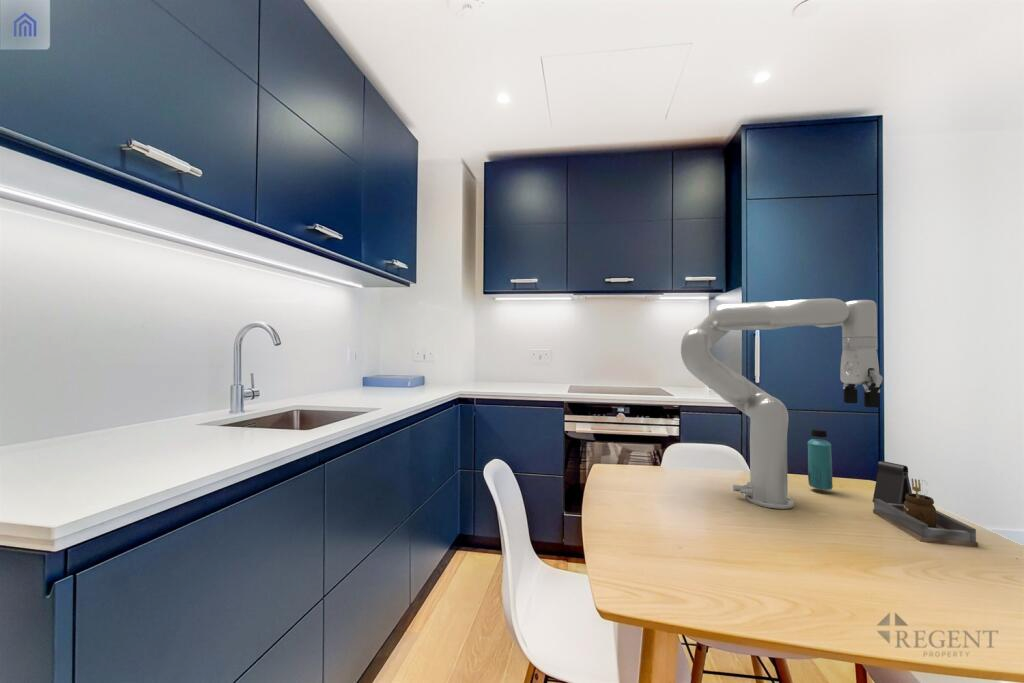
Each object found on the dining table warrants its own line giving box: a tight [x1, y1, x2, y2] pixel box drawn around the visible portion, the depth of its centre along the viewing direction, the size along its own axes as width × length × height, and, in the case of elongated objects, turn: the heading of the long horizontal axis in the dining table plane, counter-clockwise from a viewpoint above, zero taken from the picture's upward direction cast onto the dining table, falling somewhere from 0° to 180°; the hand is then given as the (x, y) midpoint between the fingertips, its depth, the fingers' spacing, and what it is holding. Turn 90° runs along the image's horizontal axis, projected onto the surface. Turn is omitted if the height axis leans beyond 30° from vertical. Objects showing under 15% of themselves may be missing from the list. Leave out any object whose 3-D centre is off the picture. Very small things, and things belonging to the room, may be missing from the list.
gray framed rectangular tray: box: [872, 499, 979, 548], centre depth 104 cm, size 11×18×4 cm, turn 166°
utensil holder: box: [904, 478, 937, 528], centre depth 104 cm, size 6×6×12 cm
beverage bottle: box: [807, 428, 834, 491], centre depth 132 cm, size 6×7×20 cm
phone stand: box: [872, 460, 913, 504], centre depth 121 cm, size 9×6×12 cm, turn 111°
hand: (860, 405), depth 114 cm, fingers open, 9 cm apart
